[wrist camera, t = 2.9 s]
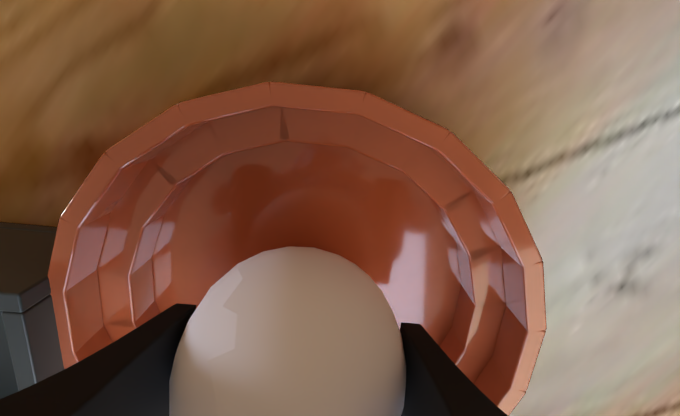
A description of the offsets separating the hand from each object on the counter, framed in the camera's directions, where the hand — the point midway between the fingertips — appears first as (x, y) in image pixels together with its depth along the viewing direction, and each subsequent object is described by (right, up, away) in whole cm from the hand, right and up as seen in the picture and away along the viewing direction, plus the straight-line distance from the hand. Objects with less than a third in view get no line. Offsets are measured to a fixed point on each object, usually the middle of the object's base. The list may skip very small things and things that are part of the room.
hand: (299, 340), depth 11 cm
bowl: (0, +1, +3) cm, 3 cm away
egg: (0, +1, +3) cm, 3 cm away
